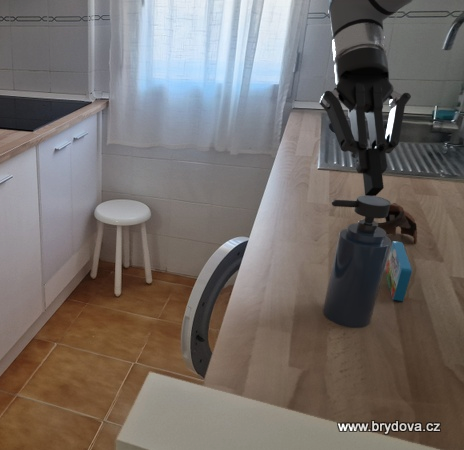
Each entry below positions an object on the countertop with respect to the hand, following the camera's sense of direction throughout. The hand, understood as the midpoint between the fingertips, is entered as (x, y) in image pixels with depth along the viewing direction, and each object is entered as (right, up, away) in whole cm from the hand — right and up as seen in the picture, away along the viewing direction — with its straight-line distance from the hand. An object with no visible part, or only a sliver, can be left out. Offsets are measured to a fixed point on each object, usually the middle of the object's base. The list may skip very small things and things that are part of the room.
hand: (374, 191), depth 79 cm
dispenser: (0, -20, +8) cm, 21 cm away
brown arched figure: (+24, -8, +36) cm, 44 cm away
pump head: (-2, -4, +2) cm, 5 cm away
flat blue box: (+13, -16, +17) cm, 27 cm away
